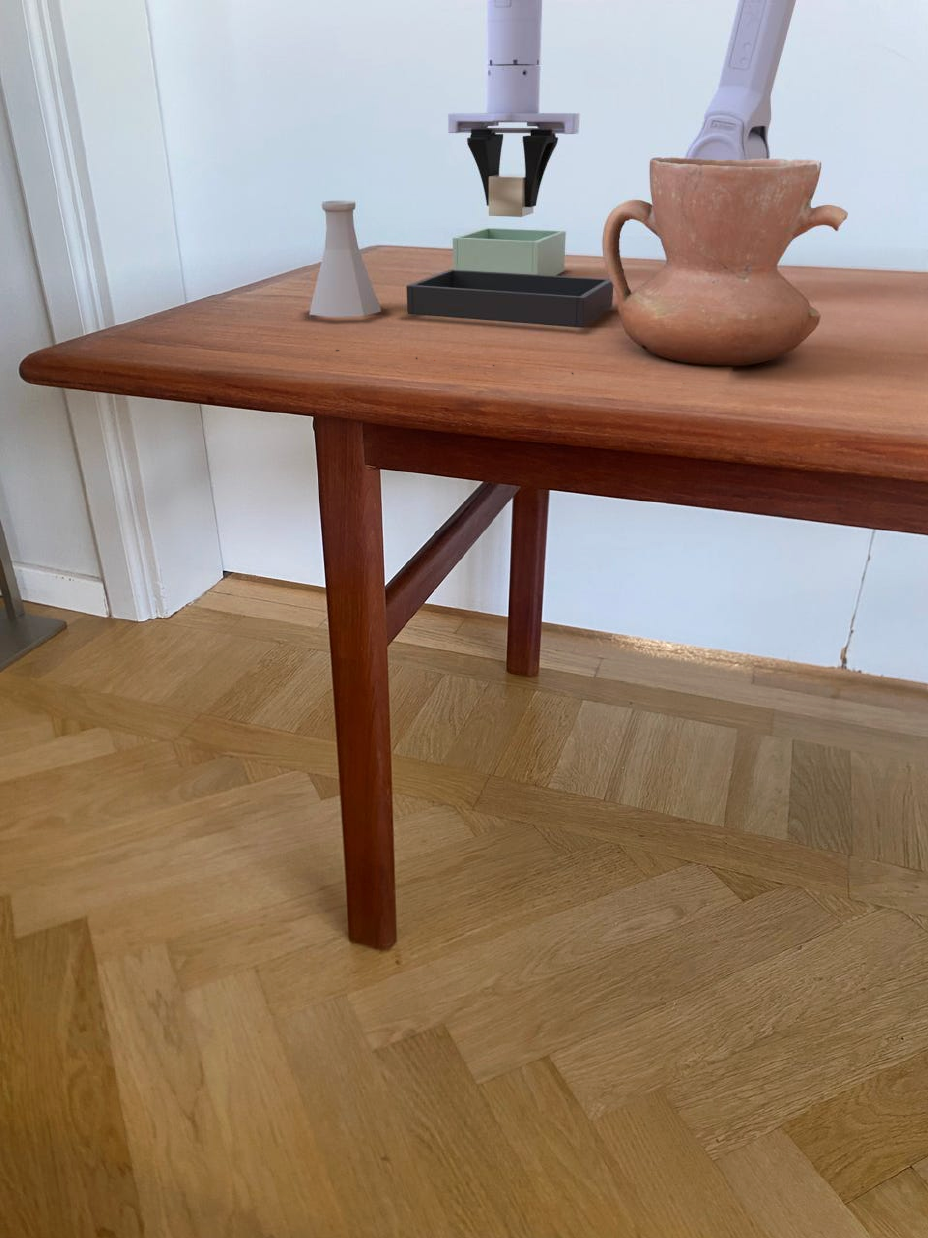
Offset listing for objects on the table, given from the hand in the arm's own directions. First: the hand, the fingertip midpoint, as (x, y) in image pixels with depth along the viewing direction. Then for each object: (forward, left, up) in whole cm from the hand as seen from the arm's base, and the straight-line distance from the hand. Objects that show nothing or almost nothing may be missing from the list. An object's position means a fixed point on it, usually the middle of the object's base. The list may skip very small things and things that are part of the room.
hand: (511, 205), depth 105 cm
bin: (0, 0, -8) cm, 8 cm away
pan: (-8, +21, -8) cm, 24 cm away
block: (0, 0, -1) cm, 1 cm away
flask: (+7, +27, -8) cm, 29 cm away
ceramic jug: (-28, +31, -8) cm, 42 cm away
